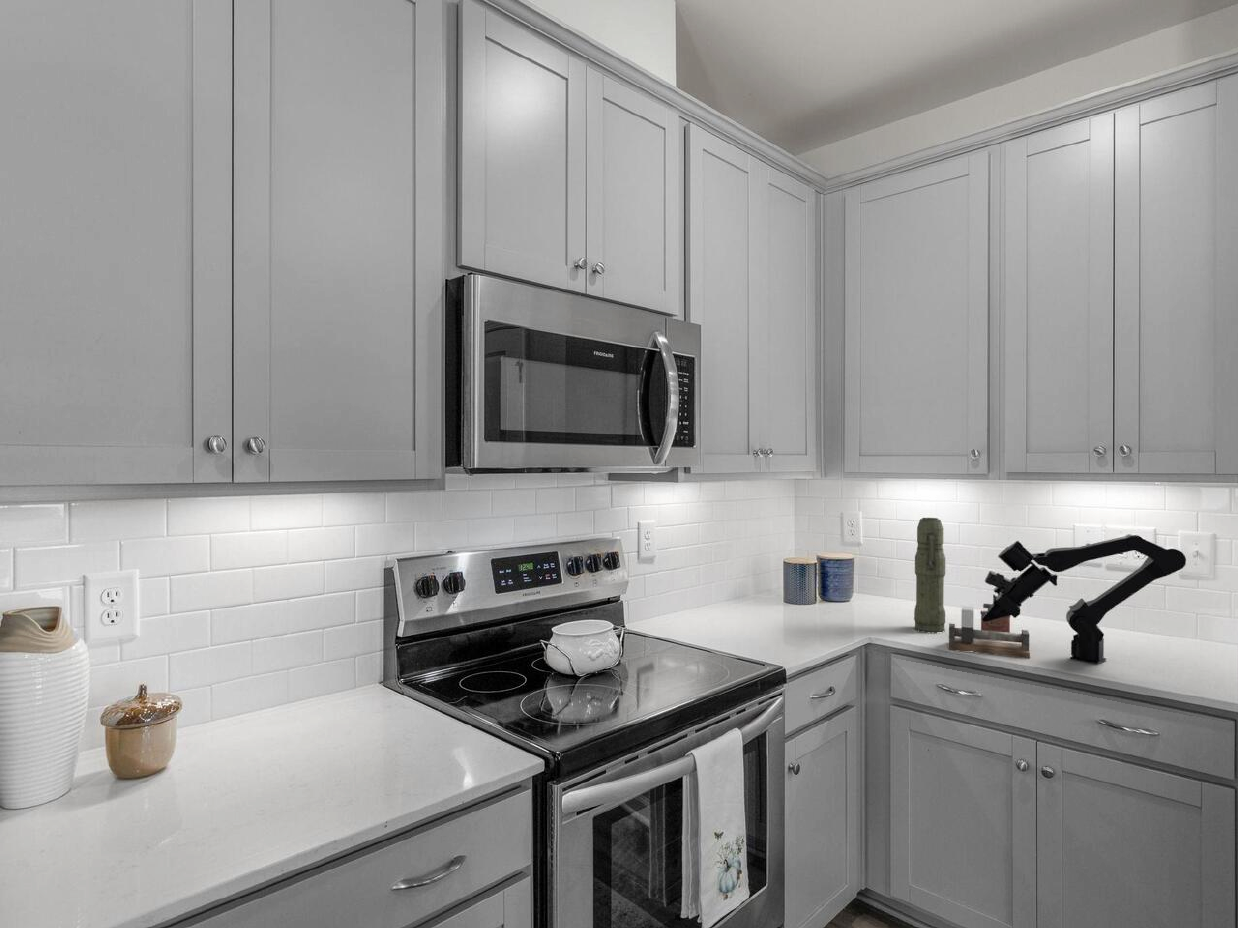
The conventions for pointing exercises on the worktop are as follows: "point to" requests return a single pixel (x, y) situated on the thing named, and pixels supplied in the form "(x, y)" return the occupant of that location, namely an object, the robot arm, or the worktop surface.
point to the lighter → (995, 622)
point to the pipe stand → (991, 642)
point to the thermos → (929, 576)
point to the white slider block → (967, 624)
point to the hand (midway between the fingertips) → (983, 620)
